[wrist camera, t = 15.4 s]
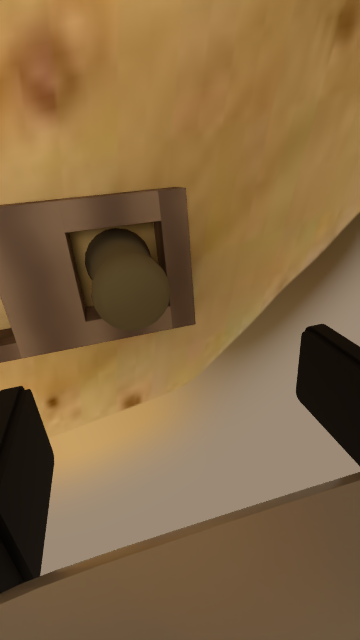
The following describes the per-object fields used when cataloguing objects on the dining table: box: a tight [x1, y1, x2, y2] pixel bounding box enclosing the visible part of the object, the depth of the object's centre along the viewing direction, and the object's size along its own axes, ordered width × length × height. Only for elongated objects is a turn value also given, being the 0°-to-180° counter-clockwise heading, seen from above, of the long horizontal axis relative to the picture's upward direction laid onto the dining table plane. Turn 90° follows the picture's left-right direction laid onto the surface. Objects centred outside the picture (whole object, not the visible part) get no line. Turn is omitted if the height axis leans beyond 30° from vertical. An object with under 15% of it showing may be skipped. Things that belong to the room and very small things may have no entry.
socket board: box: [0, 187, 195, 363], centre depth 27 cm, size 22×12×4 cm, turn 95°
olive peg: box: [85, 228, 170, 331], centre depth 25 cm, size 6×6×11 cm
